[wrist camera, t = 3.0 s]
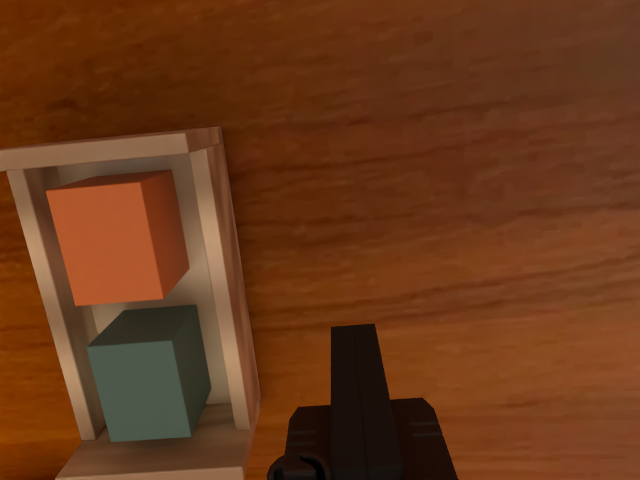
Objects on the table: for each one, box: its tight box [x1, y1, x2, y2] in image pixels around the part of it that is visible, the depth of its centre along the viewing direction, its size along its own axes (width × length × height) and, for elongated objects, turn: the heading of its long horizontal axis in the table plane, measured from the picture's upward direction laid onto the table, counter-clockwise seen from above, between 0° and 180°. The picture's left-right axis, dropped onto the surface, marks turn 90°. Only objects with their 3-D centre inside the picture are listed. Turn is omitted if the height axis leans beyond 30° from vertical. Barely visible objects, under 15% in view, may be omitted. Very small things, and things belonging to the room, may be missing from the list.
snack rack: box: [0, 126, 262, 480], centre depth 22 cm, size 16×9×6 cm, turn 5°
